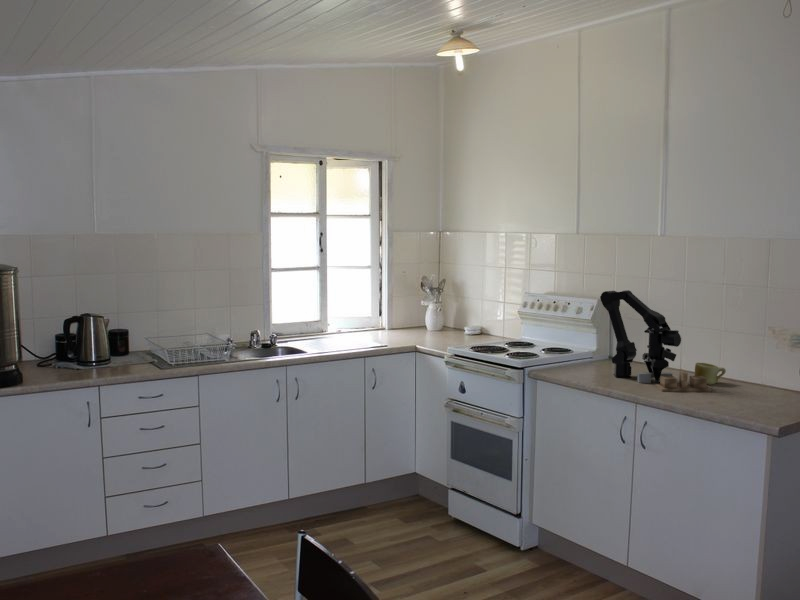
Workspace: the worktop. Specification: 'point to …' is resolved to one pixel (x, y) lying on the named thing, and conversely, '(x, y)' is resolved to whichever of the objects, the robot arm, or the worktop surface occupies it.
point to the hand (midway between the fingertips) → (654, 379)
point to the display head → (683, 383)
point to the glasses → (648, 377)
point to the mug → (709, 372)
